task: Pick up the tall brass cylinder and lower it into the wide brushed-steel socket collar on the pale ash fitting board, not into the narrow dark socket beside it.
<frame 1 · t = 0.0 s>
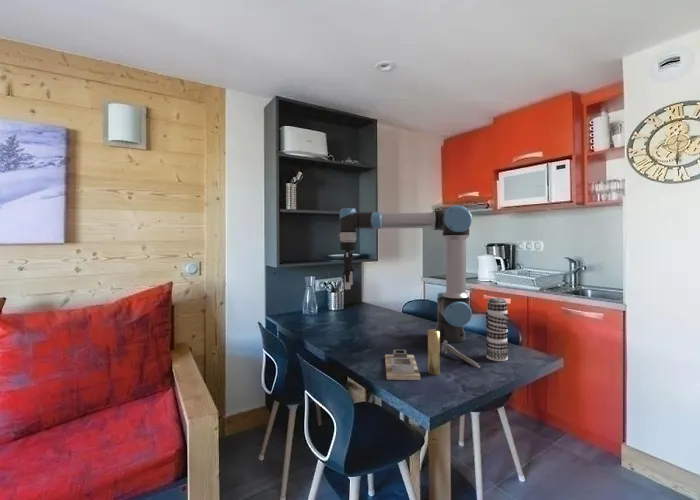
hand: (348, 287, 164), 28 cm above the table, fingers open, 13 cm apart
fitting board: (401, 368, 137), on the table
decorative candle: (497, 358, 147), on the table
caliper: (460, 360, 146), on the table
brass cylinder: (433, 372, 133), on the table
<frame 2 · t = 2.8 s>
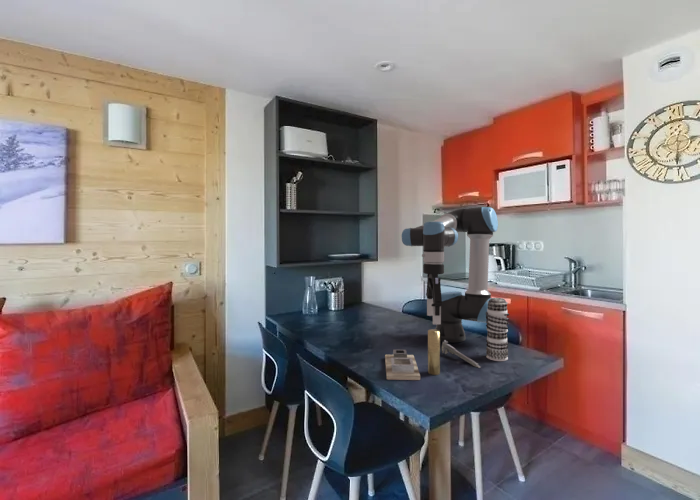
hand: (433, 319, 131), 20 cm above the table, fingers open, 13 cm apart
nothing on the table moved.
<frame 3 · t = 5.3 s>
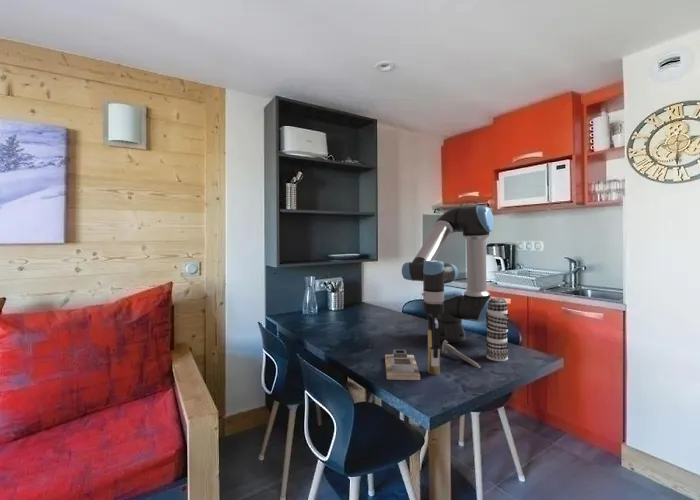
hand: (433, 363, 132), 4 cm above the table, fingers closed on brass cylinder, 4 cm apart
brass cylinder: (434, 372, 133), on the table, touching gripper
everything else where it was.
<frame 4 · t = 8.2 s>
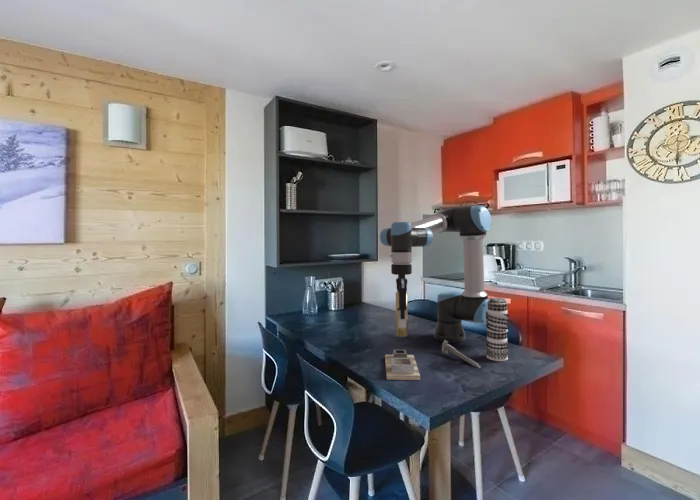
hand: (401, 325, 132), 18 cm above the table, fingers closed on brass cylinder, 4 cm apart
brass cylinder: (401, 335, 132), point 15 cm above the table, touching gripper
everything else where it was.
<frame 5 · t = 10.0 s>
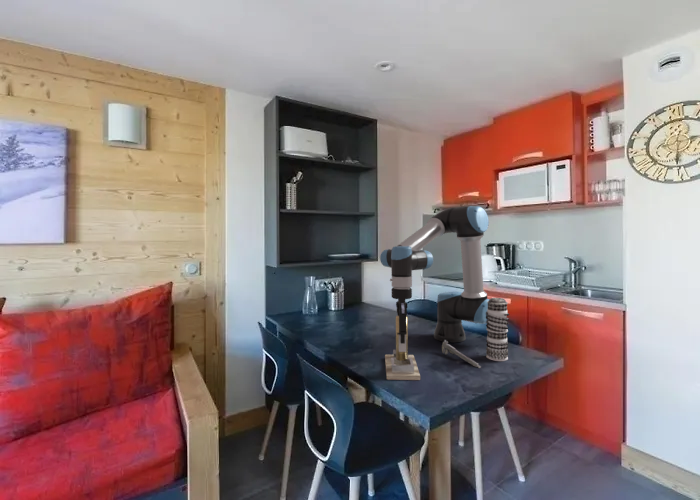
hand: (401, 349, 132), 9 cm above the table, fingers closed on brass cylinder, 4 cm apart
brass cylinder: (401, 358, 132), point 6 cm above the table, touching gripper
everything else where it was.
when the fingers open (7 cm above the table, at t = 11.4 s): brass cylinder drops 1 cm, resting on fitting board.
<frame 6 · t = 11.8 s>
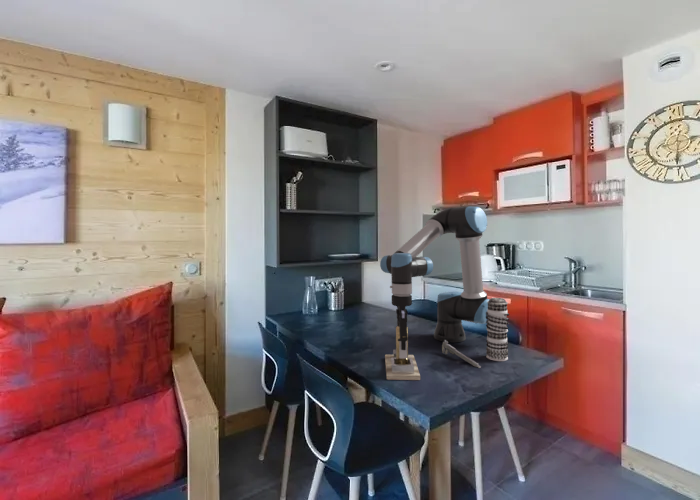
hand: (402, 352, 132), 8 cm above the table, fingers open, 10 cm apart
brass cylinder: (402, 369, 132), point 2 cm above the table, touching fitting board
everything else where it was.
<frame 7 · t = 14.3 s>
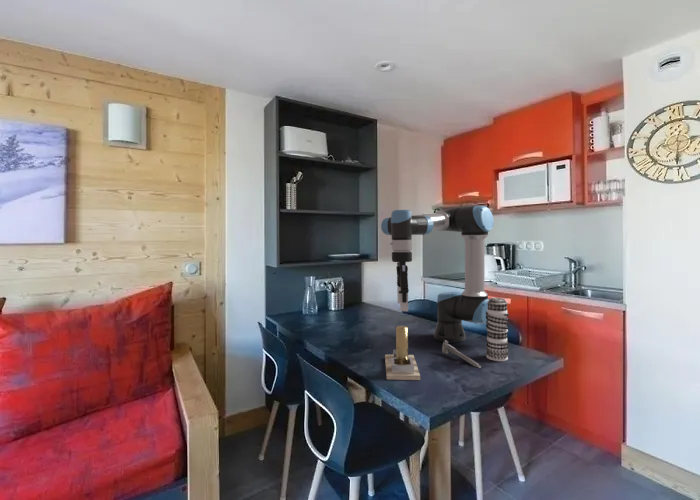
hand: (402, 307, 133), 25 cm above the table, fingers open, 13 cm apart
nothing on the table moved.
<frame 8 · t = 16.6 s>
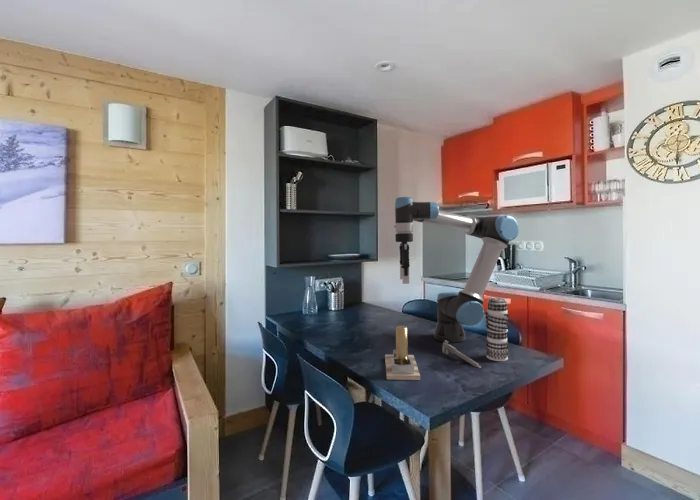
hand: (404, 281, 154), 32 cm above the table, fingers open, 13 cm apart
nothing on the table moved.
at the end: brass cylinder 0.1 cm from the target spot on the fitting board, point 1.5 cm above the fitting board's base; brass cylinder tilted 1°; the gripper is holding nothing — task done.
